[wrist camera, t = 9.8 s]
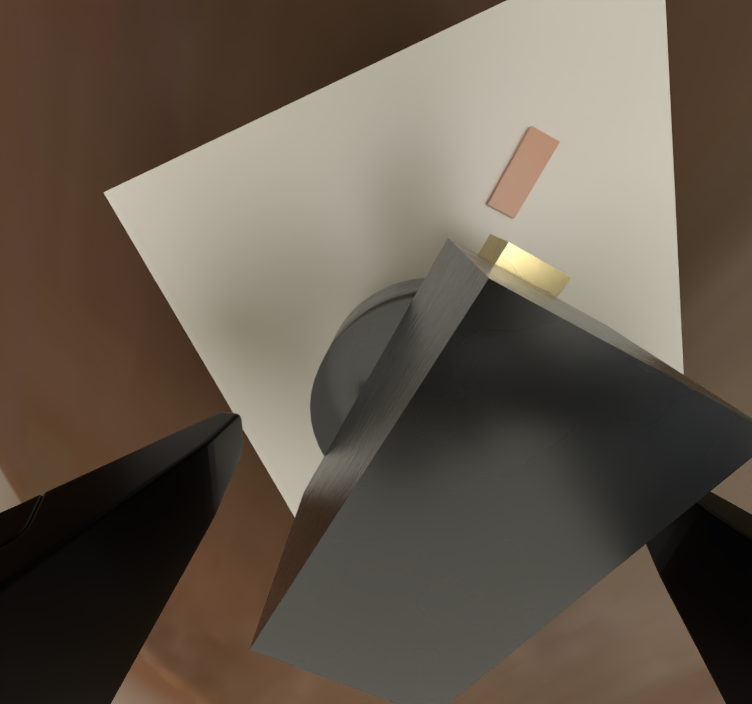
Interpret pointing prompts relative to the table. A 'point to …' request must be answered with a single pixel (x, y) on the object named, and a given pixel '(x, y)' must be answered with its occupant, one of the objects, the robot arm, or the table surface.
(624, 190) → the post plate
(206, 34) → the table surface
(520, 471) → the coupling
